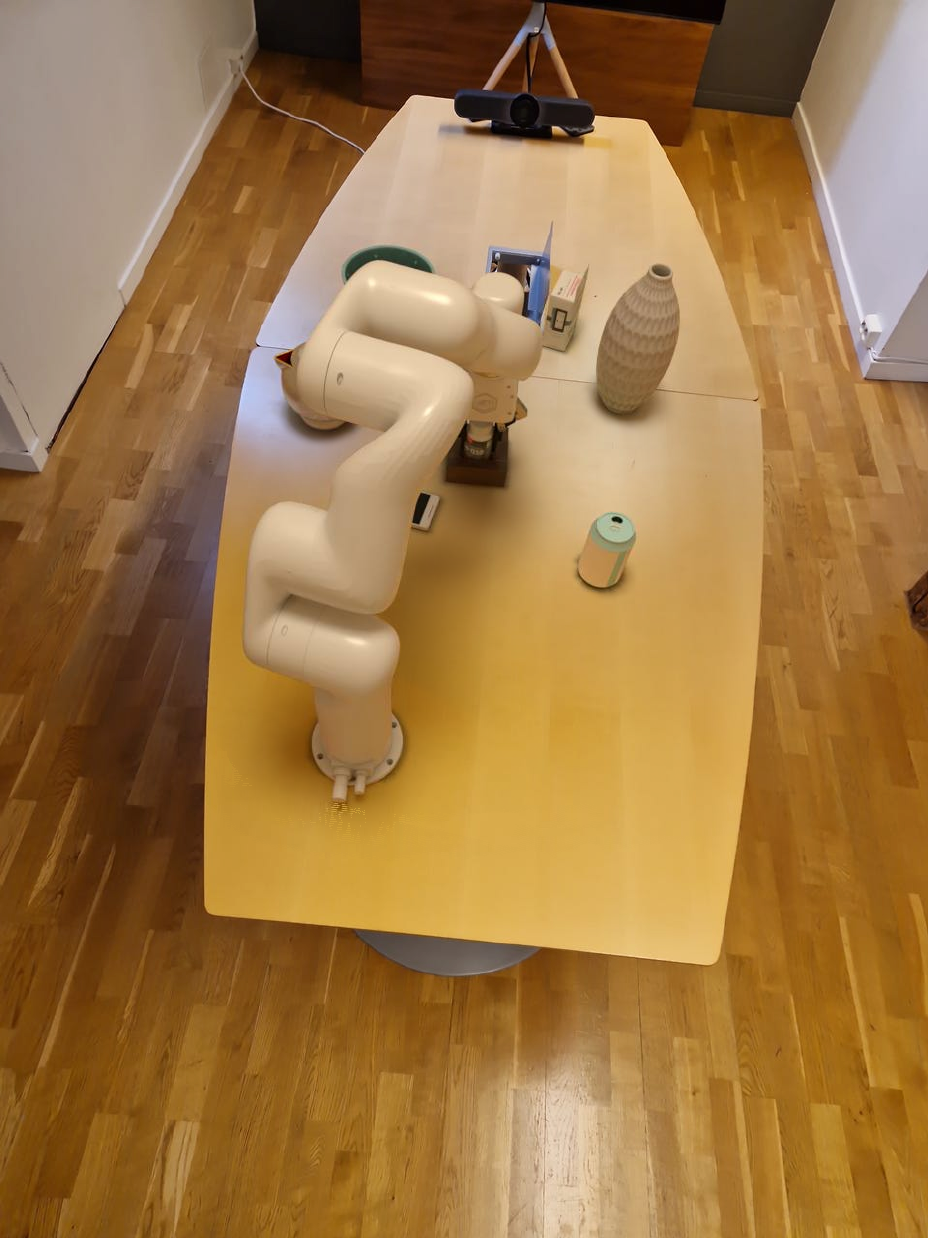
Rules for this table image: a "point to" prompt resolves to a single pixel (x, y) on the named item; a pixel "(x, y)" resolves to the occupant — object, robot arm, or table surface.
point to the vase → (638, 341)
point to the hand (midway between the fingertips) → (478, 439)
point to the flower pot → (386, 259)
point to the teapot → (289, 386)
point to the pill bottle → (478, 440)
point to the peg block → (478, 465)
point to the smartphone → (424, 510)
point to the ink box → (564, 309)
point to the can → (607, 549)
